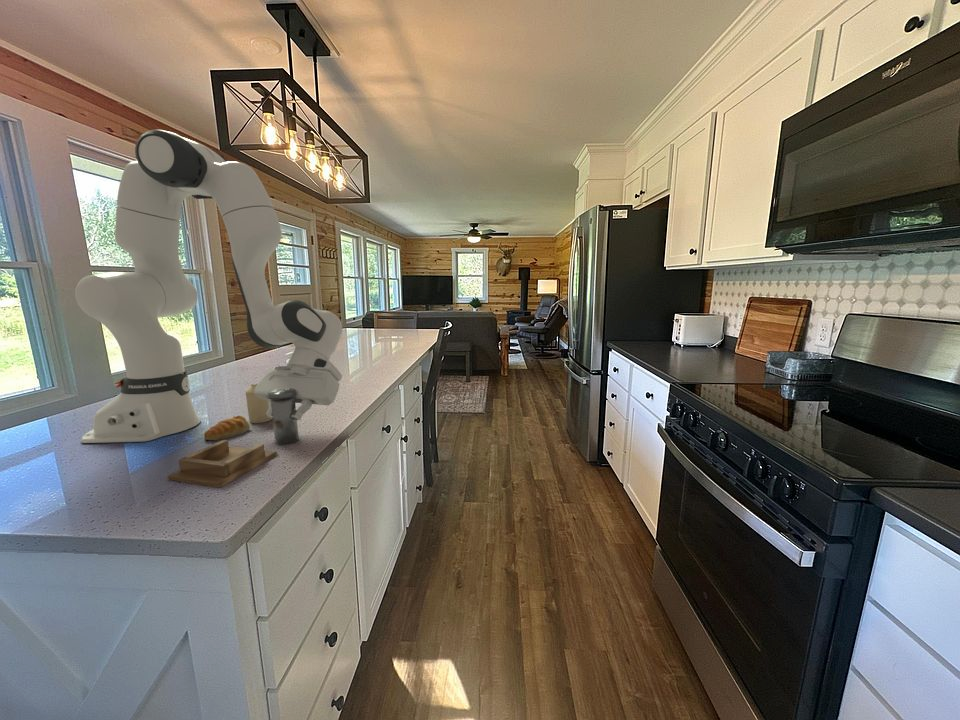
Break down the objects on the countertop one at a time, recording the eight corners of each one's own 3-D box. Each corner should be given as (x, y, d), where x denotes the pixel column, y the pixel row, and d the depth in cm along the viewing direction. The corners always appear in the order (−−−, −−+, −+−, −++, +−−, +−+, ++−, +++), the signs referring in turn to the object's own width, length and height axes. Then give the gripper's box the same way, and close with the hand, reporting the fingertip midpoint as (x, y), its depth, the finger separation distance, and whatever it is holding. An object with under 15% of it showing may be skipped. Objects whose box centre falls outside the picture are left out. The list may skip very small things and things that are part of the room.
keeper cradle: (220, 487, 69) (218, 470, 68) (168, 480, 72) (165, 463, 71) (277, 454, 82) (275, 440, 82) (231, 449, 85) (229, 435, 84)
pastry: (217, 444, 88) (214, 429, 87) (197, 440, 90) (194, 425, 89) (253, 430, 97) (251, 415, 96) (234, 427, 99) (232, 413, 98)
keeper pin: (270, 446, 86) (264, 396, 84) (276, 437, 92) (271, 389, 89) (298, 444, 88) (293, 394, 85) (302, 434, 93) (298, 387, 91)
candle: (262, 424, 100) (257, 387, 98) (244, 422, 101) (239, 386, 99) (277, 417, 105) (273, 382, 103) (260, 415, 106) (255, 381, 104)
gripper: (264, 358, 95) (236, 408, 88) (336, 362, 90) (313, 415, 83) (278, 372, 100) (253, 419, 93) (348, 376, 96) (327, 427, 88)
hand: (282, 417), depth 88 cm, fingers open, 5 cm apart
